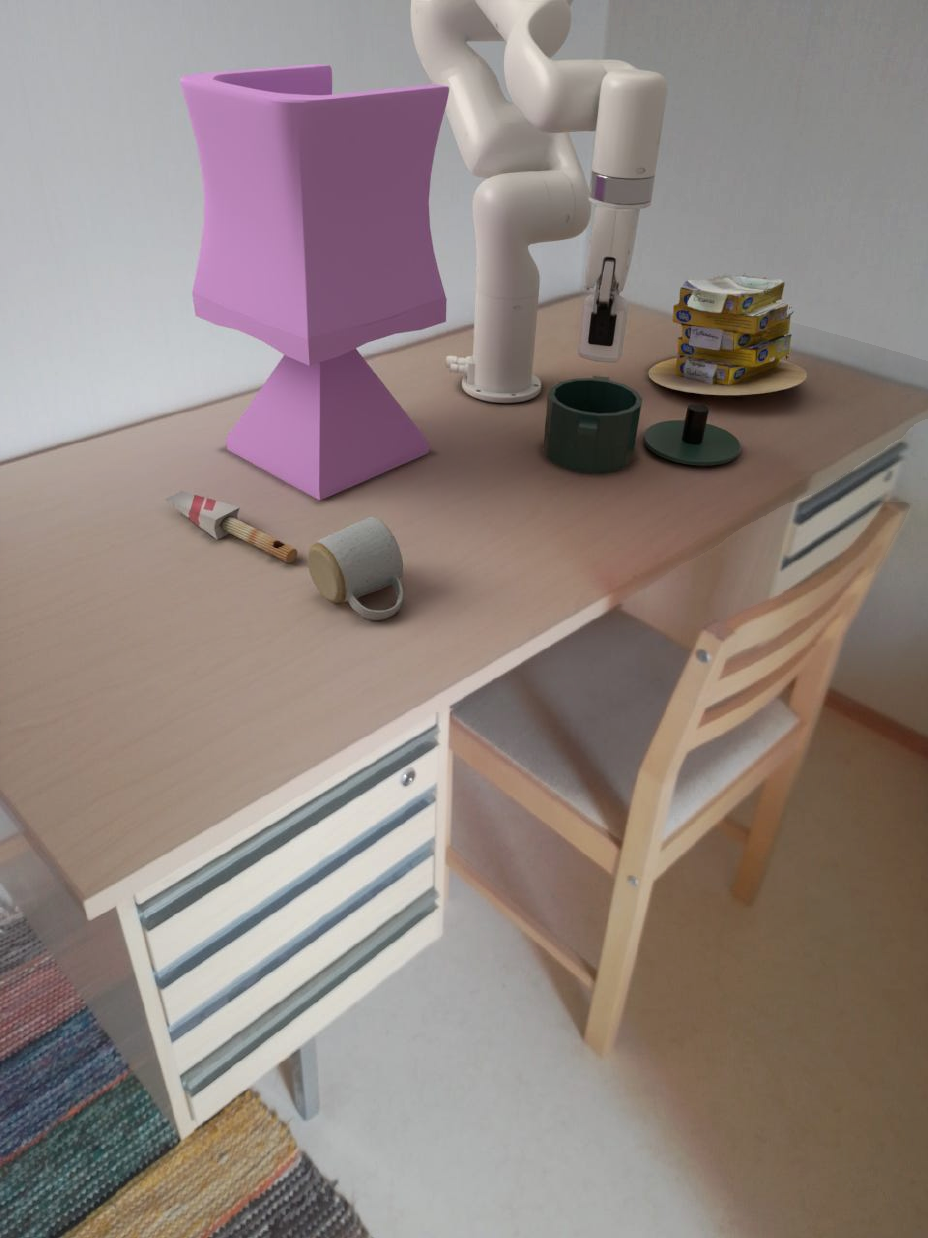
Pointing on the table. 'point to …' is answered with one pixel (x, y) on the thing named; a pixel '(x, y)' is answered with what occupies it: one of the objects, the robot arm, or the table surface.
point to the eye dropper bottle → (615, 350)
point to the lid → (692, 439)
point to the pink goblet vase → (317, 258)
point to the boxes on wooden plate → (731, 339)
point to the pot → (591, 425)
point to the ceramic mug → (357, 565)
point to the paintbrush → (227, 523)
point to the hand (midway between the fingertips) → (601, 337)
